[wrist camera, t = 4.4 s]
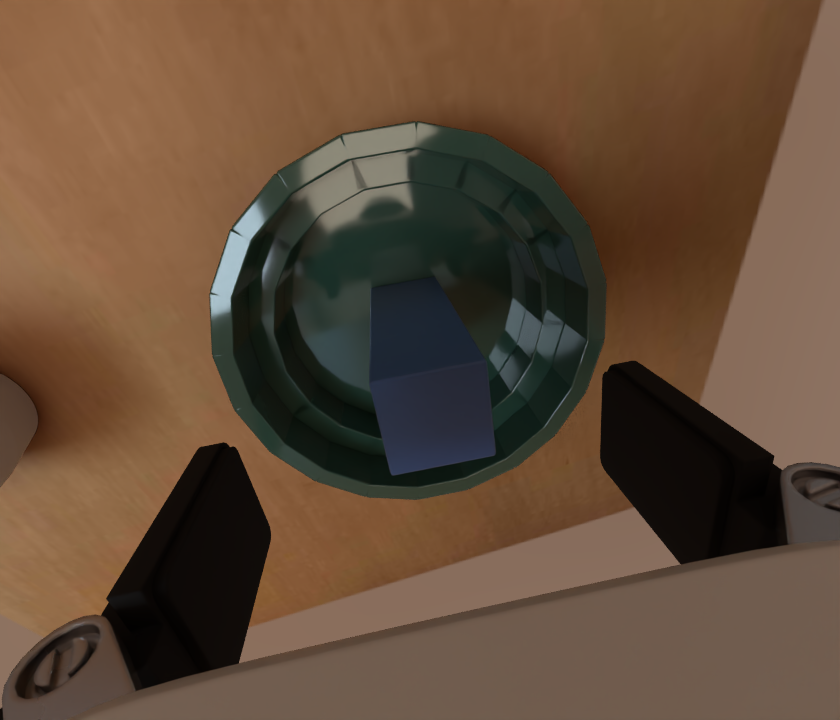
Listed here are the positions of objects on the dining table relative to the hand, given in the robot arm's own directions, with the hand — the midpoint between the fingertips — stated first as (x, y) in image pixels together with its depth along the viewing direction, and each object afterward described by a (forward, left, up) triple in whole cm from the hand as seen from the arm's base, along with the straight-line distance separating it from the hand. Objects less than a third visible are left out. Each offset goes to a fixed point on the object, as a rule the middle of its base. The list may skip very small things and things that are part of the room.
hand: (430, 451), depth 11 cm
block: (0, 0, -11) cm, 11 cm away
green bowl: (0, 0, -12) cm, 12 cm away
